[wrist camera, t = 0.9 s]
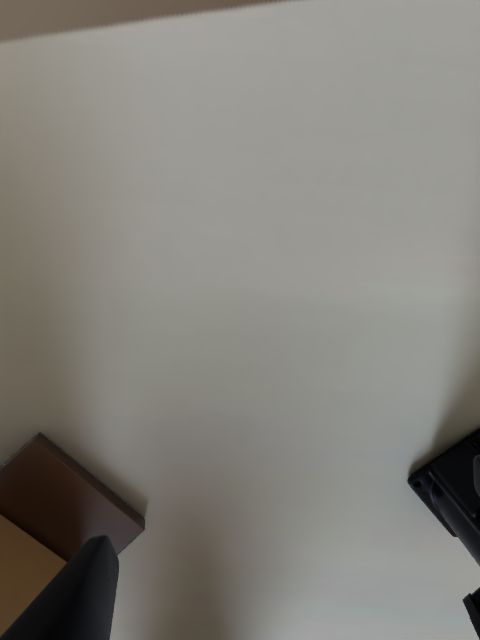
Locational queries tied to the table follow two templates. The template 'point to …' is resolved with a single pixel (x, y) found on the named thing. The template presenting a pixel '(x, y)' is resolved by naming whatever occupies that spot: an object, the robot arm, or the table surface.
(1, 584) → the carton
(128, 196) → the table surface
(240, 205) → the table surface
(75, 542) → the ramp
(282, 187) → the table surface
